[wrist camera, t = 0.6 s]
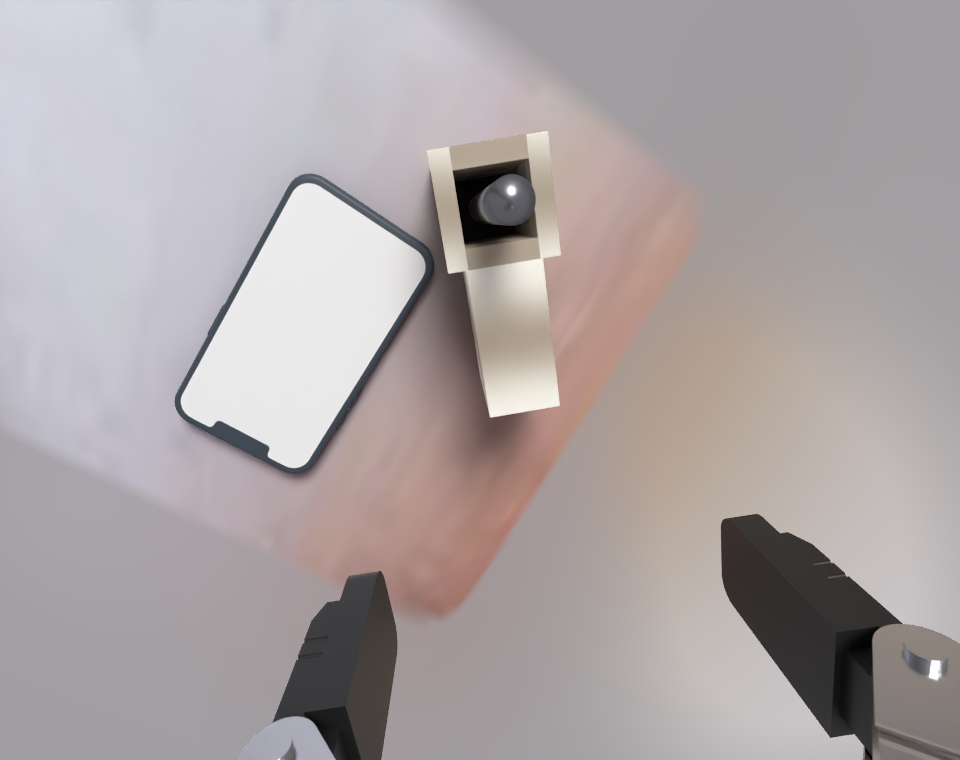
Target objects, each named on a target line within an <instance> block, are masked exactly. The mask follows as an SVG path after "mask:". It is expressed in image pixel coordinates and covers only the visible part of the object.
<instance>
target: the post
mask: <svg viewBox="0 0 960 760" xmlns="http://www.w3.org/2000/svg"><path fill="white" fill-rule="evenodd" d="M535 204H536V195H535V191H534V189H533V187H532V185H531V184H530V182H529V181H528V180H527V179H525V178H524V177H522V176H520V175H516V174H508V175H504V176H502V177H500V178H499V179H497V180H496V181H495V182H493V183H492V184H491V185H489V186H488V187H487V188H485V189H484V190H482V191H481V192H480V193H478V194H477V195H476V196H474V197H473V199H472V200H471V202H470V205H469V212H470V215H471V217H472V218H473V219H474V220H475V221H476V222H478V223H483V224H495V225H507V226H515V225H519V224H521V223H523V222H525V221H526V220H527V219H528V218H529V217H530V216H531V214H532V213H533V211H534V208H535Z"/></svg>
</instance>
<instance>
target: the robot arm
mask: <svg viewBox="0 0 960 760" xmlns="http://www.w3.org/2000/svg"><path fill="white" fill-rule="evenodd" d="M721 552H722V553H721V554H722V578H723V584H724V588H725V591H726V593H727V596H728V598H729V600H730V602H731V603H732V605H733V606H734V607H735V609H736V610H737V612H738V613H739V614H740V616H741V617H742V618H743V620H744V621H745V622H746V624H747V625H748V626H749V628H750V629H751V630H752V631H753V633H754V635H755V636H756V637H757V639H758V640H759V641H760V642H761V644H762V645H763V647H764V648H765V650H766V651H767V652H768V654H769V655H770V656H771V658H772V659H773V660H774V662H775V663H776V664H777V666H778V667H779V669H780V670H781V671H782V672H783V674H784V675H785V677H786V678H787V679H788V681H789V682H790V683H791V685H792V686H793V688H794V689H795V690H796V692H797V693H798V694H799V696H800V697H801V698H802V700H803V701H804V702H805V704H806V705H807V707H808V708H809V709H810V710H811V712H812V713H813V715H814V716H815V717H816V719H817V720H818V721H819V723H820V724H821V726H822V727H823V728H824V730H825V731H826V732H827V734H828V735H829V736H830V738H831V737H838V736H844V735H851V734H855V735H856V736H857V737H858V739H859V740H860V741H861V743H862V744H863V745H864V751H863V760H960V644H959V643H957V642H956V641H954V640H952V639H951V638H949V637H947V636H945V635H943V634H941V633H938V632H935V631H933V630H930V629H927V628H923V627H920V626H915V625H907V624H902V623H901V622H900V621H899V620H898V619H897V618H896V617H894V616H893V615H892V614H891V613H890V612H889V611H888V610H886V609H885V608H884V607H883V606H882V605H881V604H880V603H878V602H877V601H876V600H875V599H874V598H873V597H872V596H870V595H869V594H868V593H867V592H866V591H865V590H864V589H863V588H861V587H860V586H859V585H858V584H857V583H856V582H855V581H853V580H852V579H851V578H850V577H846V575H845V573H844V572H843V571H842V570H841V569H840V568H839V567H837V566H836V565H835V564H834V563H831V562H830V560H829V559H828V558H827V557H826V556H825V555H824V554H823V553H822V552H820V551H819V550H818V549H817V548H816V547H815V546H814V545H812V544H811V543H808V542H807V541H804V540H802V539H800V538H798V537H796V536H794V535H792V534H790V533H788V532H787V533H779V532H778V531H777V530H776V529H775V528H774V527H772V526H771V525H770V524H769V523H768V522H767V521H766V520H765V519H764V518H763V517H762V516H760V515H758V514H753V515H747V516H741V517H734V518H727V519H724V520H723V521H722V523H721ZM396 657H397V632H396V625H395V621H394V616H393V612H392V608H391V604H390V600H389V596H388V592H387V587H386V583H385V579H384V576H383V574H382V572H381V571H379V572H372V573H366V574H360V575H353V576H349V577H348V578H347V581H346V584H345V587H344V590H343V593H342V596H341V599H340V601H334V602H327V603H326V604H325V606H324V607H323V608H322V609H321V610H320V611H319V613H318V614H317V615H316V616H315V617H314V619H313V620H312V621H311V624H310V627H309V629H308V632H307V634H306V637H305V643H304V644H303V645H302V647H301V650H300V653H299V655H298V660H296V663H295V666H294V668H293V671H292V673H291V676H290V679H289V681H288V684H287V687H286V689H285V692H284V694H283V697H282V700H281V702H280V705H279V707H278V710H277V713H276V715H275V718H274V721H273V723H271V724H269V725H268V726H266V727H265V728H263V729H262V730H260V731H259V732H258V733H257V734H256V735H254V736H253V737H252V738H251V739H250V741H249V742H248V743H247V744H246V745H245V746H244V748H243V749H242V751H241V752H240V754H239V756H238V758H237V760H381V757H382V750H383V744H384V737H385V730H386V723H387V717H388V710H389V703H390V696H391V690H392V683H393V677H394V670H395V663H396Z"/></svg>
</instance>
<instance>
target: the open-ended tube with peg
mask: <svg viewBox="0 0 960 760" xmlns="http://www.w3.org/2000/svg"><path fill="white" fill-rule="evenodd" d="M427 154H428V160H429V166H430V171H431V177H432V183H433V189H434V195H435V200H436V206H437V212H438V218H439V223H440V229H441V235H442V241H443V247H444V252H445V258H446V264H447V270H448V274H451V273H457V272H463V276H464V282H465V288H466V294H467V300H468V306H469V312H470V318H471V325H472V331H473V337H474V343H475V349H476V355H477V361H478V367H479V373H480V378H481V382H482V386H483V391H484V395H485V399H486V403H487V407H488V411H489V415H490V418H492V417H498V416H503V415H509V414H515V413H521V412H527V411H532V410H538V409H544V408H550V407H555V406H560V403H559V394H558V386H557V377H556V368H555V360H554V351H553V342H552V333H551V325H550V316H549V307H548V299H547V290H546V281H545V273H544V264H543V258H547V257H553V256H559V255H561V252H560V243H559V233H558V224H557V214H556V204H555V195H554V185H553V176H552V166H551V156H550V147H549V137H548V131H544V132H538V133H532V134H525V135H519V136H513V137H507V138H501V139H494V140H488V141H482V142H476V143H470V144H463V145H457V146H451V147H445V148H439V149H433V150H427ZM505 173H508V174H516V175H520V176H522V177H524V178H525V179H527V180H528V181H529V182H530V184H531V185H532V187H533V189H534V191H535V195H536V204H535V208H534V211H533V213H532V214H531V216H530V217H529V218H528V219H527V220H526V221H525V222H523V223H521V224H519V225H515V230H516V233H515V234H509V235H503V236H497V237H491V238H485V239H479V240H473V241H467V242H464V239H463V233H462V227H461V220H460V214H459V208H458V202H457V195H456V189H455V183H454V182H456V181H462V180H468V179H474V178H480V177H487V176H493V175H499V174H505Z"/></svg>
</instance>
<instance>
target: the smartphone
mask: <svg viewBox="0 0 960 760" xmlns="http://www.w3.org/2000/svg"><path fill="white" fill-rule="evenodd" d="M433 267H434V261H433V257H432V254H431V252H430V250H429V249H428V248H427V247H426V246H425V245H424V244H423V243H421V242H420V241H418V240H417V239H415V238H414V237H412V236H411V235H409V234H408V233H406V232H405V231H403V230H402V229H400V228H399V227H397V226H396V225H394V224H393V223H391V222H390V221H388V220H387V219H385V218H384V217H382V216H381V215H379V214H378V213H376V212H375V211H373V210H372V209H370V208H369V207H367V206H366V205H364V204H363V203H361V202H360V201H358V200H357V199H355V198H354V197H352V196H351V195H349V194H348V193H346V192H345V191H343V190H342V189H340V188H339V187H337V186H336V185H334V184H333V183H331V182H330V181H328V180H327V179H325V178H323V177H321V176H319V175H316V174H304V175H301V176H299V177H297V178H295V179H294V180H293V181H292V182H291V184H290V185H289V187H288V188H287V190H286V192H285V194H284V196H283V198H282V200H281V201H280V203H279V205H278V207H277V209H276V211H275V213H274V214H273V216H272V218H271V220H270V222H269V224H268V225H267V227H266V229H265V231H264V233H263V235H262V237H261V238H260V240H259V242H258V244H257V246H256V248H255V249H254V251H253V253H252V255H251V257H250V259H249V261H248V262H247V264H246V266H245V268H244V270H243V272H242V273H241V275H240V277H239V279H238V281H237V283H236V285H235V286H234V288H233V290H232V292H231V294H230V296H229V297H228V299H227V301H226V303H225V304H224V305H223V306H222V308H221V310H220V312H219V313H218V315H217V317H216V319H215V321H214V323H213V325H212V326H211V328H210V330H209V332H208V336H207V338H206V340H205V342H204V344H203V345H202V347H201V349H200V351H199V353H198V355H197V357H196V358H195V360H194V362H193V364H192V366H191V368H190V370H189V371H188V373H187V375H186V377H185V379H184V381H183V382H182V384H181V386H180V388H179V390H178V392H177V394H176V396H175V407H176V410H177V412H178V413H179V415H180V416H181V417H182V418H183V419H184V420H186V421H187V422H189V423H191V424H193V425H195V426H197V427H199V428H201V429H203V430H205V431H207V432H209V433H210V434H212V435H214V436H216V437H218V438H220V439H222V440H224V441H226V442H228V443H230V444H232V445H234V446H236V447H238V448H240V449H242V450H244V451H246V452H248V453H250V454H251V455H253V456H255V457H257V458H259V459H261V460H263V461H265V462H267V463H269V464H271V465H273V466H275V467H277V468H279V469H281V470H283V471H285V472H288V473H295V474H296V473H302V472H304V471H306V470H308V469H309V468H310V467H311V466H312V465H313V464H314V462H315V461H316V459H317V458H318V456H319V454H320V453H321V451H322V450H323V448H324V446H325V445H326V443H327V442H328V440H329V438H330V437H331V435H332V434H333V432H334V430H335V429H336V430H337V429H338V427H339V426H340V424H341V422H342V421H343V419H344V418H345V416H346V414H347V413H348V408H351V406H352V405H353V403H354V402H355V400H356V399H357V397H358V395H359V394H360V392H361V390H362V388H361V387H362V386H363V384H364V382H365V381H366V379H367V378H368V376H369V374H370V373H371V371H372V370H373V368H374V366H375V365H376V363H377V362H378V360H379V358H380V357H381V355H382V354H383V352H384V350H385V349H386V347H387V346H388V344H389V342H390V341H391V339H392V338H393V336H394V334H395V333H396V331H397V330H398V328H399V326H400V325H401V323H402V322H403V320H404V318H405V317H406V315H407V314H408V312H409V311H410V309H411V307H412V306H413V304H414V303H415V301H416V299H417V298H418V296H419V295H420V293H421V291H422V290H423V288H424V287H425V285H426V283H427V282H428V280H429V279H430V277H431V275H432V272H433Z"/></svg>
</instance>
